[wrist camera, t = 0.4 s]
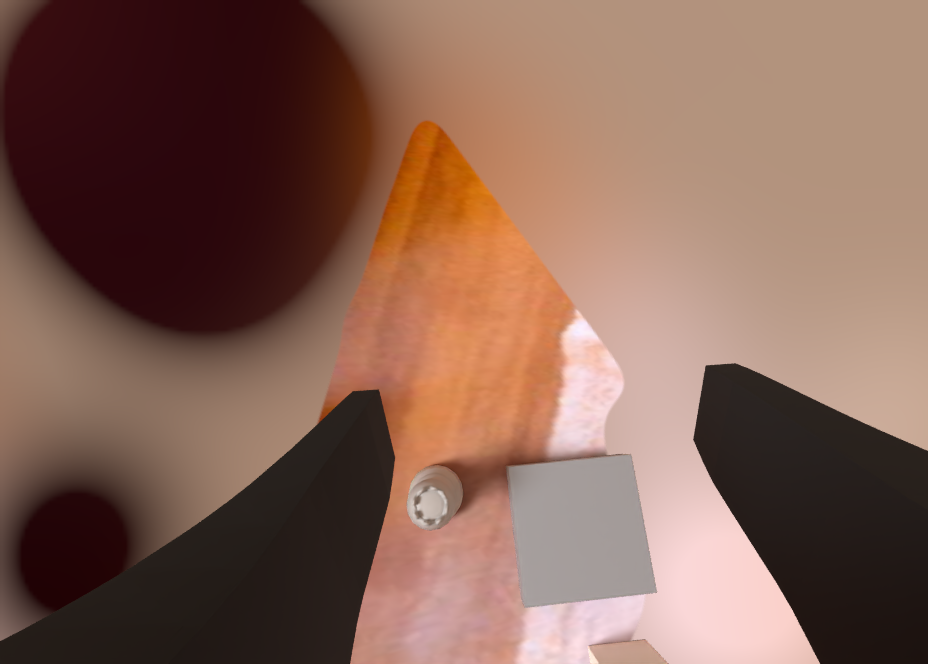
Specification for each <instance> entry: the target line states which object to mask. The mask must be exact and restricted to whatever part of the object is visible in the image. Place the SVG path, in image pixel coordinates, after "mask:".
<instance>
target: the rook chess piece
mask: <svg viewBox="0 0 928 664" xmlns="http://www.w3.org/2000/svg"><path fill="white" fill-rule="evenodd" d="M408 495H409V496H408V500H407V510H408V515H409V516H410V518H411V520H412V522H413V523H414V524H416V525H417V526H418V527H420V528H421V529H425V530H430V531H431V530H436V529H440V528H442V527H443V526H444V525H446V524H447V523H448V522H449V521H450V519H451V518H452V517H453V516H454V515H455V514H456V512H457V510H458V509H459V507H460V506H461V503H462V498H463V489H462V483H461V481H460V479H459V478H458V476H457V475H456V473H455V472H453V471H452V470H450V469H449V468H448V467H444V466H440V465H433V466H428V467H425V468H424V469H423V470H421V471H420V472H418V473H417V474H416V476H415V477H414V479H413V480H412V482H411V485H410V489H409V494H408Z"/></svg>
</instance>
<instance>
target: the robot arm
mask: <svg viewBox="0 0 928 664" xmlns="http://www.w3.org/2000/svg"><path fill="white" fill-rule="evenodd" d="M693 440H694V442H695V444H696V447H697V449H698V451H699V454H700V456H701V458H702V461H703V463H704V465H705V467H706V469H707V471H708V473H709V475H710V477H711V479H712V481H713V483H714V485H715V486H716V488H717V490H718V491H719V493H720V495H721V496H722V498H723V499H724V501H725V503H726V504H727V506H728V507H729V509H730V511H731V512H732V514H733V515H734V517H735V518H736V520H737V521H738V523H739V525H740V526H741V528H742V529H743V531H744V532H745V534H746V536H747V537H748V539H749V540H750V542H751V544H752V545H753V546H754V548H755V550H756V551H757V553H758V554H759V556H760V558H761V559H762V561H763V562H764V564H765V565H766V567H767V568H768V570H769V572H770V573H771V575H772V576H773V578H774V580H775V581H776V583H777V584H778V586H779V588H780V590H781V591H782V593H783V595H784V596H785V598H786V600H787V601H788V603H789V605H790V606H791V608H792V610H793V612H794V614H795V616H796V618H797V620H798V622H799V624H800V626H801V628H802V629H803V631H804V633H805V635H806V637H807V639H808V641H809V643H810V645H811V647H812V649H813V651H814V653H815V655H816V656H817V659H818V660H819V662H820V664H928V451H927V450H924V449H922V448H919V447H917V446H915V445H913V444H910V443H908V442H906V441H903V440H901V439H899V438H896V437H894V436H892V435H890V434H887V433H885V432H882V431H880V430H878V429H876V428H874V427H871V426H869V425H867V424H865V423H862V422H860V421H858V420H856V419H854V418H852V417H849V416H847V415H845V414H843V413H841V412H839V411H837V410H835V409H833V408H830V407H828V406H826V405H824V404H822V403H820V402H818V401H816V400H814V399H812V398H810V397H808V396H805V395H803V394H801V393H799V392H797V391H795V390H793V389H791V388H789V387H787V386H785V385H783V384H781V383H779V382H777V381H774V380H772V379H770V378H768V377H766V376H764V375H762V374H760V373H757V372H755V371H753V370H751V369H748V368H746V367H743V366H741V365H738V364H735V363H734V364H721V365H707V366H706V367H705V373H704V380H703V385H702V391H701V397H700V403H699V409H698V415H697V421H696V427H695V433H694V439H693ZM394 462H395V455H394V451H393V447H392V443H391V439H390V434H389V430H388V426H387V422H386V417H385V413H384V409H383V405H382V401H381V396H380V392H379V390H366V391H353V392H352V393H351V394H349V395H348V396H347V397H346V398H345V399H344V400H343V401H342V402H341V403H339V404H338V405H337V406H336V407H335V408H334V409H333V410H332V411H331V412H330V413H329V414H328V415H327V416H326V417H325V418H324V419H323V420H322V421H321V422H320V423H319V424H317V425H316V426H315V427H314V428H313V429H312V430H311V431H310V432H309V433H308V434H307V435H306V436H305V437H304V438H302V439H301V440H300V441H299V442H298V443H297V444H296V445H295V446H294V447H293V448H292V449H291V450H290V451H288V452H287V453H286V454H285V455H284V456H282V458H280V459H279V460H278V461H277V462H276V463H275V464H273V465H272V466H271V467H270V468H269V469H267V471H265V472H264V473H263V474H262V475H261V476H259V477H258V478H257V479H256V480H255V481H253V482H252V483H251V484H250V485H249V486H247V487H246V488H245V489H244V490H242V491H241V492H240V493H238V494H237V495H236V496H235V497H233V498H232V499H231V500H229V501H228V502H227V503H226V504H224V505H223V506H221V507H220V508H219V509H217V510H216V511H215V512H213V513H212V514H211V515H209V516H208V517H206V518H205V519H204V520H202V521H201V522H199V523H198V524H197V525H195V526H194V527H192V528H191V529H189V530H188V531H186V532H185V533H183V534H182V535H180V536H179V537H177V538H176V539H174V540H173V541H171V542H170V543H168V544H167V545H165V546H163V547H162V548H160V549H159V550H157V551H156V552H154V553H153V554H151V555H150V556H148V557H147V558H145V559H144V560H142V561H140V562H139V563H137V564H136V565H134V566H133V567H131V568H130V569H128V570H126V571H125V572H123V573H121V574H120V575H118V576H116V577H115V578H113V579H111V580H110V581H108V582H106V583H105V584H103V585H101V586H100V587H98V588H97V589H95V590H93V591H91V592H90V593H88V594H86V595H84V596H83V597H81V598H79V599H77V600H75V601H74V602H72V603H70V604H68V605H67V606H65V607H63V608H61V609H60V610H58V611H56V612H54V613H52V614H51V615H49V616H47V617H45V618H43V619H42V620H40V621H38V622H36V623H34V624H32V625H30V626H29V627H27V628H25V629H23V630H21V631H19V632H18V633H16V634H13V635H12V636H10V637H8V638H6V639H4V640H2V641H0V664H350V661H351V655H352V649H353V643H354V638H355V632H356V626H357V621H358V617H359V612H360V608H361V604H362V599H363V595H364V592H365V588H366V584H367V581H368V577H369V573H370V570H371V566H372V562H373V559H374V555H375V551H376V548H377V544H378V540H379V537H380V533H381V529H382V525H383V522H384V518H385V514H386V510H387V506H388V502H389V498H390V492H391V485H392V478H393V470H394Z"/></svg>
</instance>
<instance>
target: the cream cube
mask: <svg viewBox="0 0 928 664" xmlns="http://www.w3.org/2000/svg"><path fill="white" fill-rule="evenodd" d="M588 650H589V657H590V664H668V663H667V662H666V661H665V660H664V659H663V658H662V657H661V655H660V654H659V653H658V652H657V651H656V650H655V649H654V648H653V647H652V646H651V645H650V644H649V643H648V642H647V641H646V640H645V639H642V640H633V641H628V642H619V643H610V644H601V645H593V646H588Z"/></svg>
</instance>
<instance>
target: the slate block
mask: <svg viewBox="0 0 928 664" xmlns="http://www.w3.org/2000/svg"><path fill="white" fill-rule="evenodd" d="M506 473H507V482H508V490H509V499H510V508H511V517H512V525H513V534H514V543H515V551H516V560H517V569H518V578H519V586H520V595H521V600H522V602H523V605H524V607H525V608H528V607H536V606H545V605H554V604H563V603H571V602H580V601H589V600H598V599H606V598H615V597H624V596H632V595H641V594H650V593H657V590H656V584H655V580H654V574H653V569H652V563H651V558H650V552H649V547H648V542H647V536H646V531H645V526H644V520H643V515H642V509H641V504H640V499H639V494H638V488H637V483H636V477H635V472H634V467H633V461H632V456H631V455H630V454H615V455H607V456H598V457H589V458H579V459H569V460H559V461H549V462H539V463H529V464H519V465H509V466H506Z"/></svg>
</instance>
